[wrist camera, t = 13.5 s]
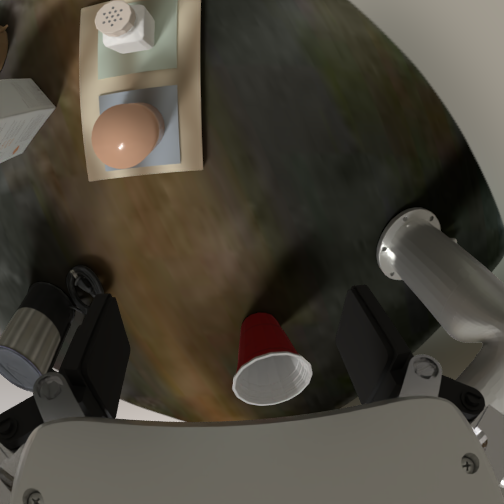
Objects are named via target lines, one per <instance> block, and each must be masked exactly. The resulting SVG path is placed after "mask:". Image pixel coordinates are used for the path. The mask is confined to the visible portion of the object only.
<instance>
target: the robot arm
mask: <svg viewBox="0 0 504 504" xmlns="http://www.w3.org/2000/svg"><path fill="white" fill-rule="evenodd" d="M377 262H378V265H379V267H380V269H381V270H382V271H383V273H384V274H385V275H386V276H388V277H389V278H392V279H395V280H403V281H404V282H405V283H406V284H407V285H408V286H409V287H410V289H411V290H412V291H413V292H414V293H415V294H416V295H417V297H418V298H419V299H420V300H421V301H422V302H423V304H424V305H425V306H426V307H427V308H428V310H429V311H430V312H431V313H432V314H433V316H434V317H435V318H436V319H437V321H438V322H439V323H440V324H441V326H442V327H443V328H444V329H445V330H446V332H447V333H448V334H449V335H450V336H451V337H453V338H454V339H456V340H458V341H461V342H466V343H481V342H482V343H483V346H482V348H481V350H480V351H479V353H478V354H477V355H476V357H475V359H474V360H473V361H472V362H471V363H470V364H469V366H468V367H467V368H466V369H465V370H464V371H463V372H462V373H461V375H460V376H459V377H458V378H457V379H456V380H453V379H451V378H448V377H446V376H443V375H442V368H441V365H440V364H439V362H438V361H437V360H436V359H434V358H433V357H431V356H428V355H423V354H422V355H417V356H413V354H412V353H411V351H410V349H409V348H408V346H407V345H406V343H405V341H404V340H403V338H402V337H401V335H400V334H399V332H398V331H397V329H396V328H395V326H394V325H393V323H392V322H391V320H390V318H389V317H388V315H387V314H386V313H385V311H384V310H383V308H382V307H381V305H380V304H379V302H378V301H377V299H376V298H375V296H374V295H373V293H372V292H371V291H370V289H369V288H368V286H367V285H357V286H352V288H351V289H350V290H348V292H347V296H346V300H345V304H344V308H343V312H342V316H341V320H340V323H339V327H338V331H337V334H336V345H337V347H338V350H339V352H340V354H341V357H342V359H343V361H344V364H345V366H346V368H347V371H348V373H349V375H350V378H351V380H352V383H353V385H354V387H355V390H356V392H357V395H358V397H359V399H360V402H361V404H362V405H358V406H353V407H347V408H342V409H337V410H331V411H325V412H319V413H312V414H305V415H297V416H289V417H280V418H270V419H259V420H245V421H226V422H161V421H142V420H126V419H115V418H116V414H117V409H118V404H119V399H120V394H121V390H122V385H123V381H124V376H125V372H126V368H127V363H128V359H129V355H130V345H129V342H128V338H127V335H126V332H125V329H124V325H123V322H122V319H121V315H120V312H119V308H118V304H117V301H116V298H115V297H112V296H111V294H96V295H95V297H94V299H93V301H92V304H91V306H90V308H89V310H88V312H87V314H86V316H85V318H84V320H83V322H82V325H80V326H79V327H78V328H77V330H76V332H75V335H74V337H73V339H72V341H71V344H70V346H69V348H68V351H67V353H66V355H65V358H64V360H63V362H62V365H61V367H60V370H59V372H58V373H56V372H48V373H45V374H43V375H42V376H40V377H39V378H38V379H37V380H36V381H35V383H34V385H33V396H32V397H30V398H28V399H26V400H25V401H23V402H21V403H19V404H17V405H16V406H14V407H12V408H10V409H9V410H7V411H5V412H3V413H2V414H0V504H504V497H503V494H502V492H501V489H500V487H502V488H504V283H503V282H502V281H500V280H499V279H498V278H497V277H496V276H495V275H494V274H493V273H491V272H490V271H489V270H488V269H487V268H486V267H485V266H483V265H482V264H481V263H480V262H479V261H478V260H476V259H475V258H474V257H473V256H472V255H470V254H469V253H468V252H467V251H465V250H464V249H463V248H462V247H460V246H459V245H458V244H457V240H456V239H455V238H449V237H448V236H446V235H445V234H444V233H443V232H441V228H440V224H439V221H438V219H437V218H436V216H435V215H434V214H433V213H432V212H430V211H428V210H427V209H425V208H421V207H414V208H410V209H407V210H405V211H402V212H401V213H399V214H398V215H396V216H395V217H394V218H393V219H392V220H391V221H390V222H389V224H388V225H387V226H386V228H385V229H384V231H383V233H382V234H381V237H380V239H379V242H378V246H377Z"/></svg>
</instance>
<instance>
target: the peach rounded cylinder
mask: <svg viewBox="0 0 504 504" xmlns="http://www.w3.org/2000/svg"><path fill="white" fill-rule="evenodd" d="M164 131H165V123H164V119H163V116H162V114H161V113H160V111H159V110H158V109H157V108H156V107H154V106H153V105H151V104H148V103H143V102H138V103H128V104H119V105H115V106H112V107H110V108H108V109H107V110H105V111H104V112H103V113H102V114H101V115H100V116H99V117H98V119H97V120H96V122H95V124H94V127H93V130H92V137H91V139H92V146H93V150H94V152H95V154H96V155H97V157H98V158H99V159H100V160H101V161H102V162H103V163H104V164H106V165H108V166H109V167H112V168H116V169H126V168H130V167H133V166H135V165H137V164H139V163H140V162H141V161H143V160H144V159H145V158H146V157H147V156H148V155H149V154H150V153H151V152H152V151H153V150H154V149H155V148H156V147H157V146H158V144H159V143H160V142H161V140H162V138H163V135H164Z"/></svg>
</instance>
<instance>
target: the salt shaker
mask: <svg viewBox="0 0 504 504" xmlns="http://www.w3.org/2000/svg"><path fill="white" fill-rule="evenodd" d="M95 25H96V29H98V30H99V31H101V32H102V33H103V43H104V45H105V47H108V48H110V49H112V50H114V51H117V52H119V53H122V54H125V53H131V52H137V51H144V50H149V49H151V48H153V46H154V32H155V21H154V19H153V17H152V16H151V15H150V13H149V12H148V10H147V9H146V8H145V6H143V5H139V4H138V5H129V4H127V3H126V2H124V1H112V2H109V3H107V4H105V5H104V6H103V7H102V8H101V9H100V10H99V11H98V12H97V15H96V18H95Z"/></svg>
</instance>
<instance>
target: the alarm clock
mask: <svg viewBox="0 0 504 504" xmlns="http://www.w3.org/2000/svg"><path fill="white" fill-rule="evenodd" d="M7 27H8V25H6V26H4V27H2V26H1V25H0V71H1V69H2V67H3V64H4V61H5V59H6V56H7V50H8V38H7V33H6V31H5V30H6V28H7Z"/></svg>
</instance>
